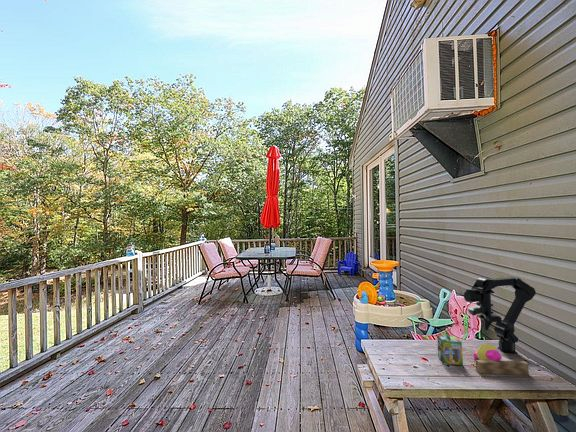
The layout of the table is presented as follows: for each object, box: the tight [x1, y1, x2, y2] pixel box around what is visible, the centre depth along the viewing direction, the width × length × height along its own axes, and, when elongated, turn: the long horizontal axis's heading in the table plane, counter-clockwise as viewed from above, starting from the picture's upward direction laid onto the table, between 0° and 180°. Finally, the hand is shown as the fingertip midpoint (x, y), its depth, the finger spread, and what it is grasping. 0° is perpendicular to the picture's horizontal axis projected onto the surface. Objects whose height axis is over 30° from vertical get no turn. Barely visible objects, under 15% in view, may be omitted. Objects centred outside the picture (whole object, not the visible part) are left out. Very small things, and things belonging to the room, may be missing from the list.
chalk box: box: [436, 330, 464, 366], centre depth 148 cm, size 9×9×15 cm
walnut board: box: [475, 359, 530, 376], centre depth 135 cm, size 22×2×5 cm, turn 85°
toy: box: [473, 343, 502, 361], centre depth 145 cm, size 10×18×10 cm, turn 176°
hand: (485, 329), depth 158 cm, fingers closed
